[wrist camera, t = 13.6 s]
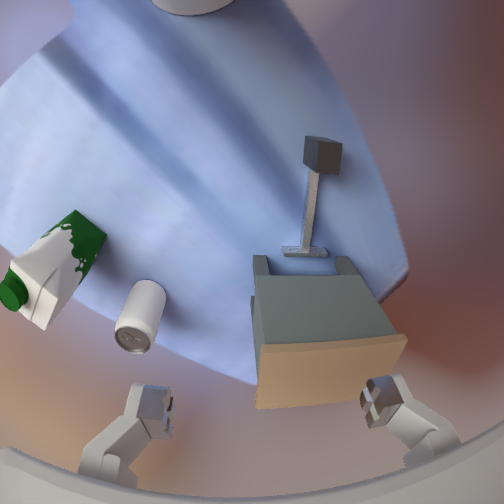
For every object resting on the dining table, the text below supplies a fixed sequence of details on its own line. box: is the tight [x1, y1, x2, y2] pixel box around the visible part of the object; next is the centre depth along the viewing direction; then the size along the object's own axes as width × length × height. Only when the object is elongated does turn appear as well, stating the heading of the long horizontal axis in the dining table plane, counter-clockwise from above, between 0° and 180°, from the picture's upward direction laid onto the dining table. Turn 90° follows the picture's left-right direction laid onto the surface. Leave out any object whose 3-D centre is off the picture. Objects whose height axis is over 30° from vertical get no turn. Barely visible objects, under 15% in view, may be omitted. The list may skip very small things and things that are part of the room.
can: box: [115, 280, 166, 354], centre depth 43 cm, size 6×6×12 cm
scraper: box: [282, 136, 342, 257], centre depth 39 cm, size 18×7×7 cm, turn 177°
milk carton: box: [0, 210, 106, 331], centre depth 34 cm, size 9×9×20 cm
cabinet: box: [251, 255, 408, 409], centre depth 40 cm, size 11×17×21 cm, turn 87°
